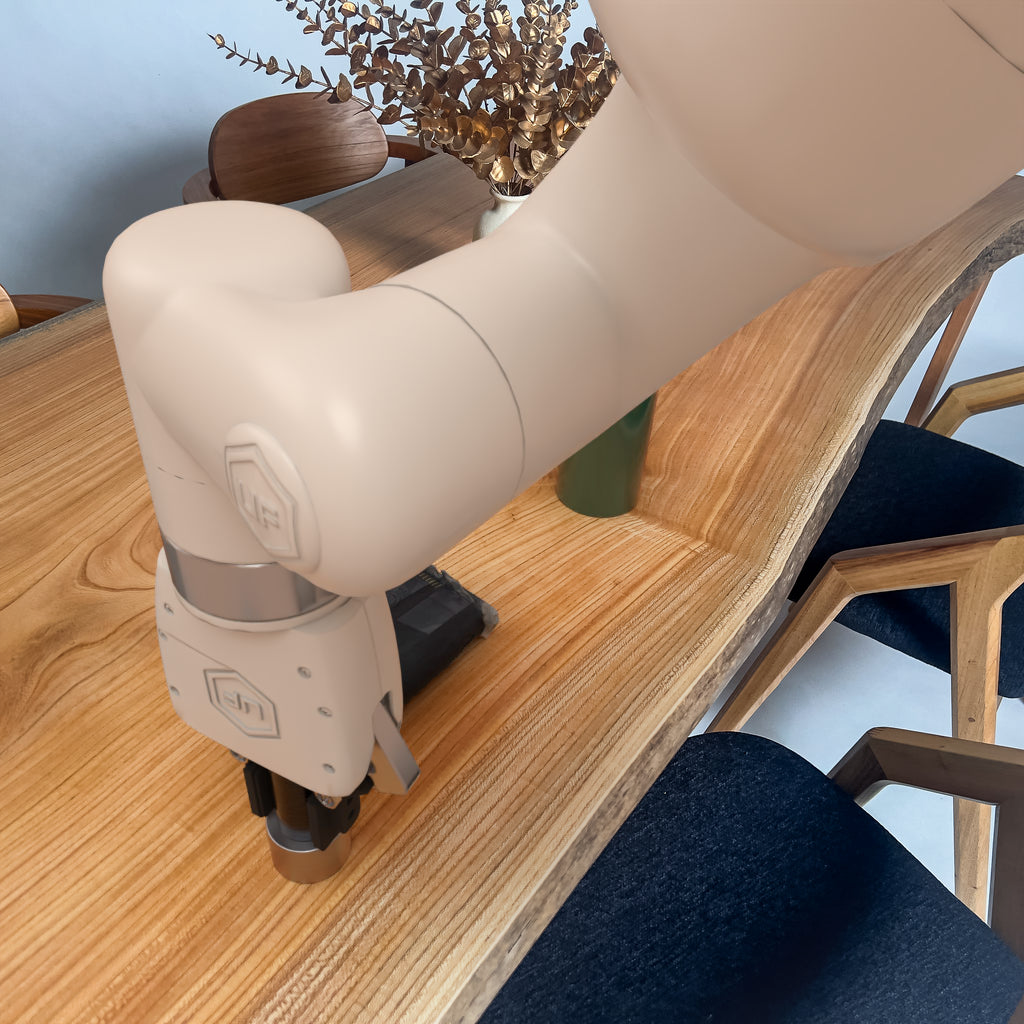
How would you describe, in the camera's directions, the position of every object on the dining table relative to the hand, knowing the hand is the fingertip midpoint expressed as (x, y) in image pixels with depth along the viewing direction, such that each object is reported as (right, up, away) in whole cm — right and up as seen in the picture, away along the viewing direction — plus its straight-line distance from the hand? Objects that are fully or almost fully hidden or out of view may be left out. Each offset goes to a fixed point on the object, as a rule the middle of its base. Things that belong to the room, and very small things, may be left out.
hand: (306, 808), depth 46 cm
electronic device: (+1, +5, +13) cm, 14 cm away
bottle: (+18, +17, +29) cm, 38 cm away
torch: (0, -3, +2) cm, 4 cm away
